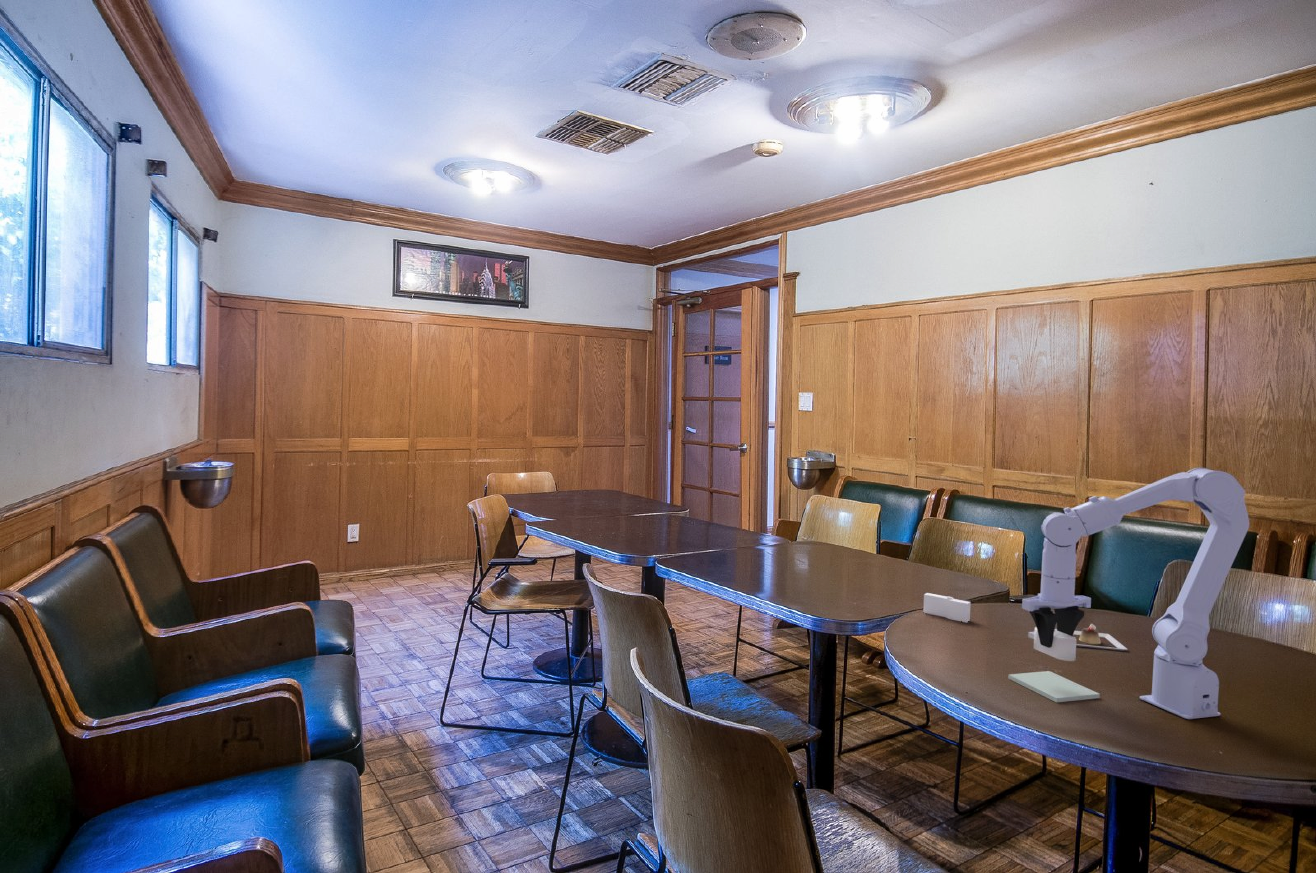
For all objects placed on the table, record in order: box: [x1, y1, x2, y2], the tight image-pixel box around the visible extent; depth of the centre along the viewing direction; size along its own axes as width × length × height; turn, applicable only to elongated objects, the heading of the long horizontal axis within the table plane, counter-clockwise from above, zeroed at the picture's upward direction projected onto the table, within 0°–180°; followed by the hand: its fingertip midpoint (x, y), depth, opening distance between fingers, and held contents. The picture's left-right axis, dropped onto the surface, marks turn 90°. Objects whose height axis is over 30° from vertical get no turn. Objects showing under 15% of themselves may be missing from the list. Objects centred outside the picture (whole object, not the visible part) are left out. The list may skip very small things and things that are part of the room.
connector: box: [1027, 626, 1077, 662], centre depth 140 cm, size 10×4×4 cm, turn 16°
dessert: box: [1054, 623, 1129, 651], centre depth 170 cm, size 12×12×5 cm
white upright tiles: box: [922, 592, 972, 623], centre depth 187 cm, size 15×11×6 cm
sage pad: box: [1007, 670, 1101, 703], centre depth 140 cm, size 12×10×1 cm
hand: (1054, 645), depth 140 cm, fingers closed on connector, 4 cm apart
